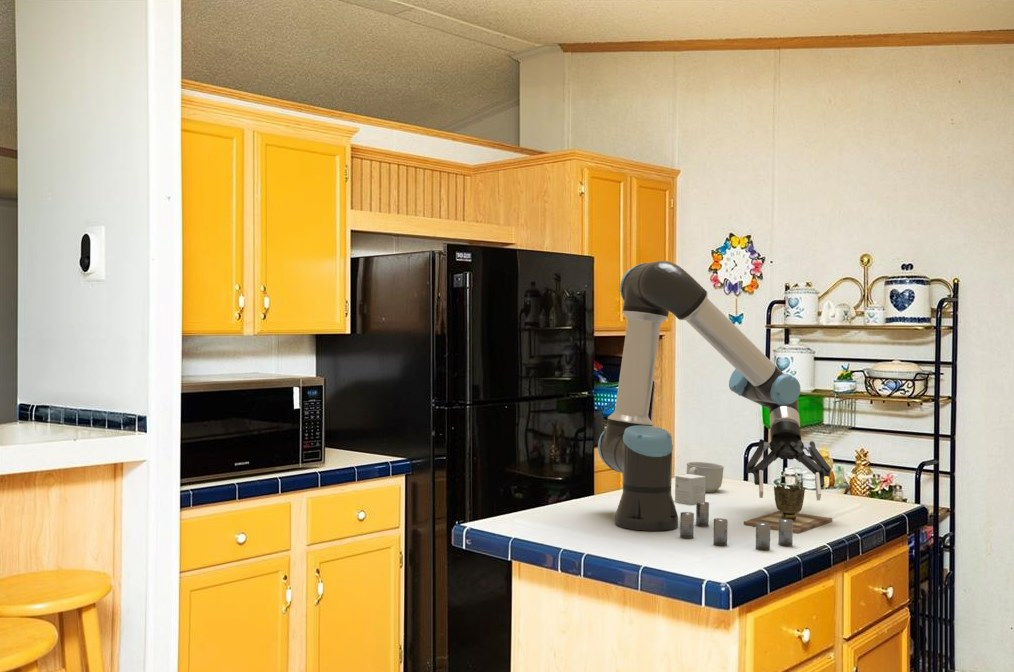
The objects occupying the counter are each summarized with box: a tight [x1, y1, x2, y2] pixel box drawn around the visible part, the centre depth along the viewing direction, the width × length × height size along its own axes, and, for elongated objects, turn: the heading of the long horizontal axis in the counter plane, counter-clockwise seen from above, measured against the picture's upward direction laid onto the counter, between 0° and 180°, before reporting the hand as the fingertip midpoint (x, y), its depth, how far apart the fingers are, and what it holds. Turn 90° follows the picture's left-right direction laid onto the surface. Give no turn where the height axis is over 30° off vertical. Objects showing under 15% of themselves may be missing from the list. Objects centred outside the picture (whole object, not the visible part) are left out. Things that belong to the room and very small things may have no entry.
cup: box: [773, 484, 806, 520], centre depth 240 cm, size 8×7×8 cm
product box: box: [674, 473, 706, 506], centre depth 267 cm, size 6×6×7 cm
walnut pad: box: [743, 510, 833, 534], centre depth 240 cm, size 20×14×1 cm
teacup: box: [685, 461, 725, 493], centre depth 285 cm, size 14×11×8 cm
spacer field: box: [679, 501, 794, 551], centre depth 223 cm, size 22×29×6 cm
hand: (790, 496), depth 237 cm, fingers open, 13 cm apart
